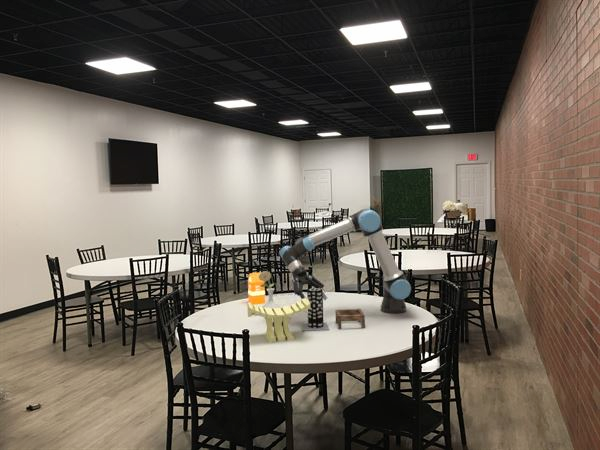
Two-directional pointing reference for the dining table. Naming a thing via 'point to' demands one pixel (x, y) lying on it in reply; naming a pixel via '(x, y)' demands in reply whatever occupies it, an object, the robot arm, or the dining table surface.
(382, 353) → the dining table surface
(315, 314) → the spotted tube
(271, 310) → the slatted curved stool
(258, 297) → the orange juice
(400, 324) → the dining table surface
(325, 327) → the mat
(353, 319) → the square frame stand
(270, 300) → the flower in vase
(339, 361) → the dining table surface
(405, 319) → the dining table surface
